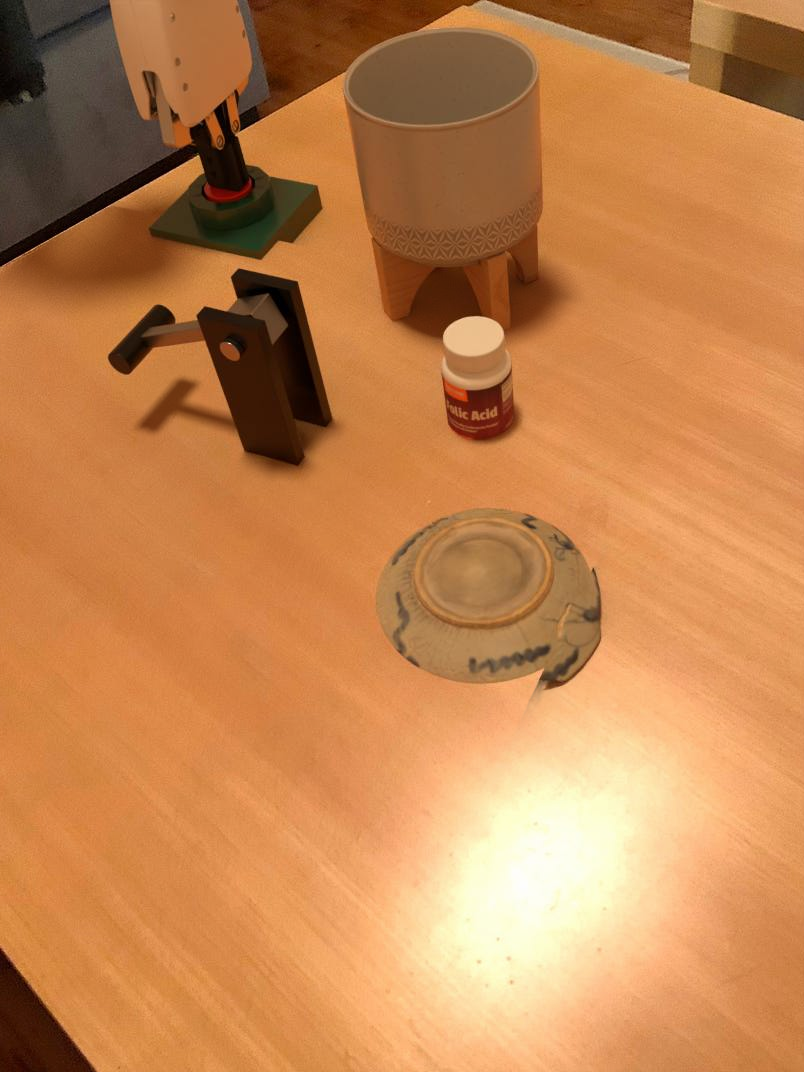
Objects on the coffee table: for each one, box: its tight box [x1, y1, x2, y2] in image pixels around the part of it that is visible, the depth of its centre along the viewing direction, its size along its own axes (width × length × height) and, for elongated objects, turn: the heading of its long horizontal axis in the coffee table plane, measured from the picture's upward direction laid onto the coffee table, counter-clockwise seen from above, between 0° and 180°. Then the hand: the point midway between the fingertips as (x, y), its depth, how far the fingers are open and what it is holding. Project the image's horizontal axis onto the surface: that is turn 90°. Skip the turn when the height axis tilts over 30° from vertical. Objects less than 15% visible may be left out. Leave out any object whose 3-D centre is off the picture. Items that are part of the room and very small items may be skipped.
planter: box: [342, 26, 544, 332], centre depth 76 cm, size 13×13×18 cm
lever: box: [107, 293, 288, 376], centre depth 69 cm, size 13×6×2 cm, turn 66°
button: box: [204, 177, 253, 203], centre depth 88 cm, size 4×4×2 cm
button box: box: [148, 164, 323, 261], centre depth 89 cm, size 11×10×4 cm
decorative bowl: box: [375, 507, 602, 685], centre depth 64 cm, size 15×4×15 cm
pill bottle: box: [440, 315, 516, 441], centre depth 71 cm, size 5×5×8 cm
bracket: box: [195, 267, 333, 467], centre depth 69 cm, size 12×9×13 cm
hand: (229, 184), depth 88 cm, fingers closed
